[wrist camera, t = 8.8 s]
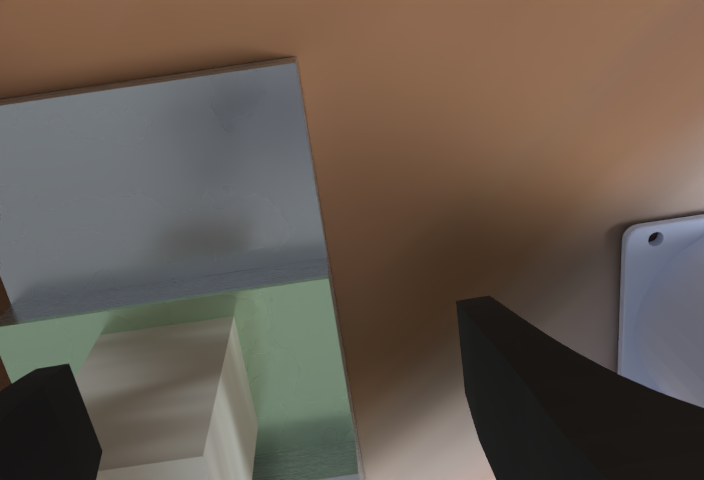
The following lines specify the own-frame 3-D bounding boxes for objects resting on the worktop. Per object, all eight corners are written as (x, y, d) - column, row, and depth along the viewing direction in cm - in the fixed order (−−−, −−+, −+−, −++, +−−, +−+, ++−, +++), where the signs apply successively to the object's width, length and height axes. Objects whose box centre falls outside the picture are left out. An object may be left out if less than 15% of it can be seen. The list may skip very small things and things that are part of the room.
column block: (233, 316, 19) (202, 456, 13) (258, 424, 21) (239, 589, 15) (99, 334, 19) (13, 482, 13) (134, 441, 21) (69, 614, 15)
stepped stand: (296, 56, 19) (292, 79, 15) (369, 507, 26) (380, 608, 22) (-46, 106, 19) (-144, 142, 15) (119, 545, 26) (83, 653, 22)
